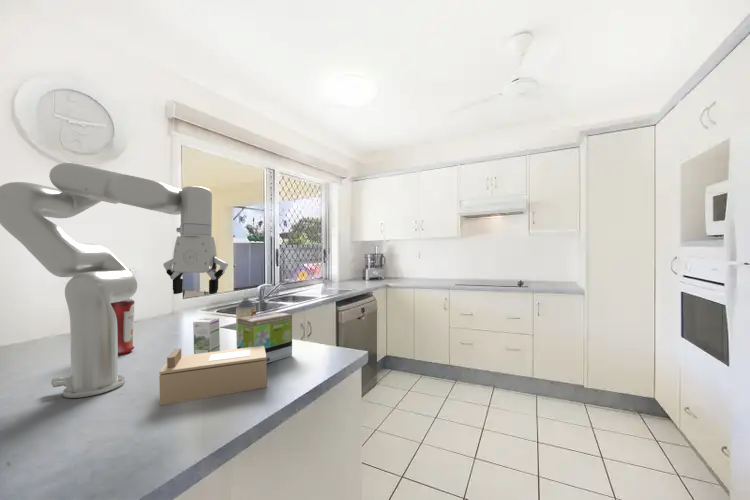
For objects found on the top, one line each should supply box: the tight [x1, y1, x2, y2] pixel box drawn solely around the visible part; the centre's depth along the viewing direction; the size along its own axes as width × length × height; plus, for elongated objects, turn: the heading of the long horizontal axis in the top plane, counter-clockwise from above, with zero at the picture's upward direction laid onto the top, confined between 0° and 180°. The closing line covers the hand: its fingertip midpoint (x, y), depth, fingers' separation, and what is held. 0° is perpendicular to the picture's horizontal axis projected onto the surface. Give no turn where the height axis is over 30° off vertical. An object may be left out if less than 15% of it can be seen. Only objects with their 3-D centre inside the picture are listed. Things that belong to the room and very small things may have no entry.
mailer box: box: [159, 360, 268, 406], centre depth 85 cm, size 24×12×7 cm, turn 112°
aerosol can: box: [235, 296, 257, 340], centre depth 116 cm, size 7×7×20 cm
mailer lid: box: [159, 346, 266, 375], centre depth 85 cm, size 24×12×3 cm, turn 112°
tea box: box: [236, 311, 293, 364], centre depth 107 cm, size 15×10×15 cm
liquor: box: [111, 298, 135, 356], centre depth 118 cm, size 7×7×28 cm
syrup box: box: [192, 317, 221, 354], centre depth 104 cm, size 6×6×14 cm
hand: (195, 293), depth 87 cm, fingers open, 9 cm apart
